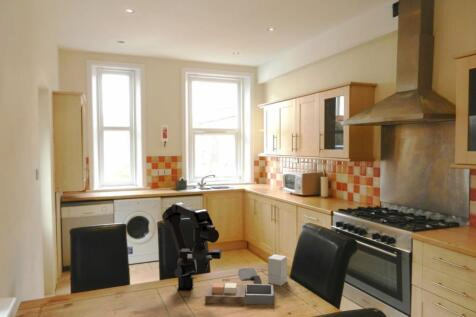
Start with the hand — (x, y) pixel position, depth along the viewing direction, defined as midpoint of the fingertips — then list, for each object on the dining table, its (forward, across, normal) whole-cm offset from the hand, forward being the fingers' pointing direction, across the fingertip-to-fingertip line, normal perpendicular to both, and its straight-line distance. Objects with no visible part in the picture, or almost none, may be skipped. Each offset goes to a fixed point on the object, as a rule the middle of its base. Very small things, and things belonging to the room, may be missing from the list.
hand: (200, 272), depth 161 cm
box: (+11, +26, 0) cm, 29 cm away
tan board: (+11, +12, 0) cm, 16 cm away
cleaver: (+12, +21, +23) cm, 33 cm away
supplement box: (+11, +35, +19) cm, 41 cm away
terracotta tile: (+8, +8, 0) cm, 11 cm away
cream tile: (+8, +14, 0) cm, 16 cm away
